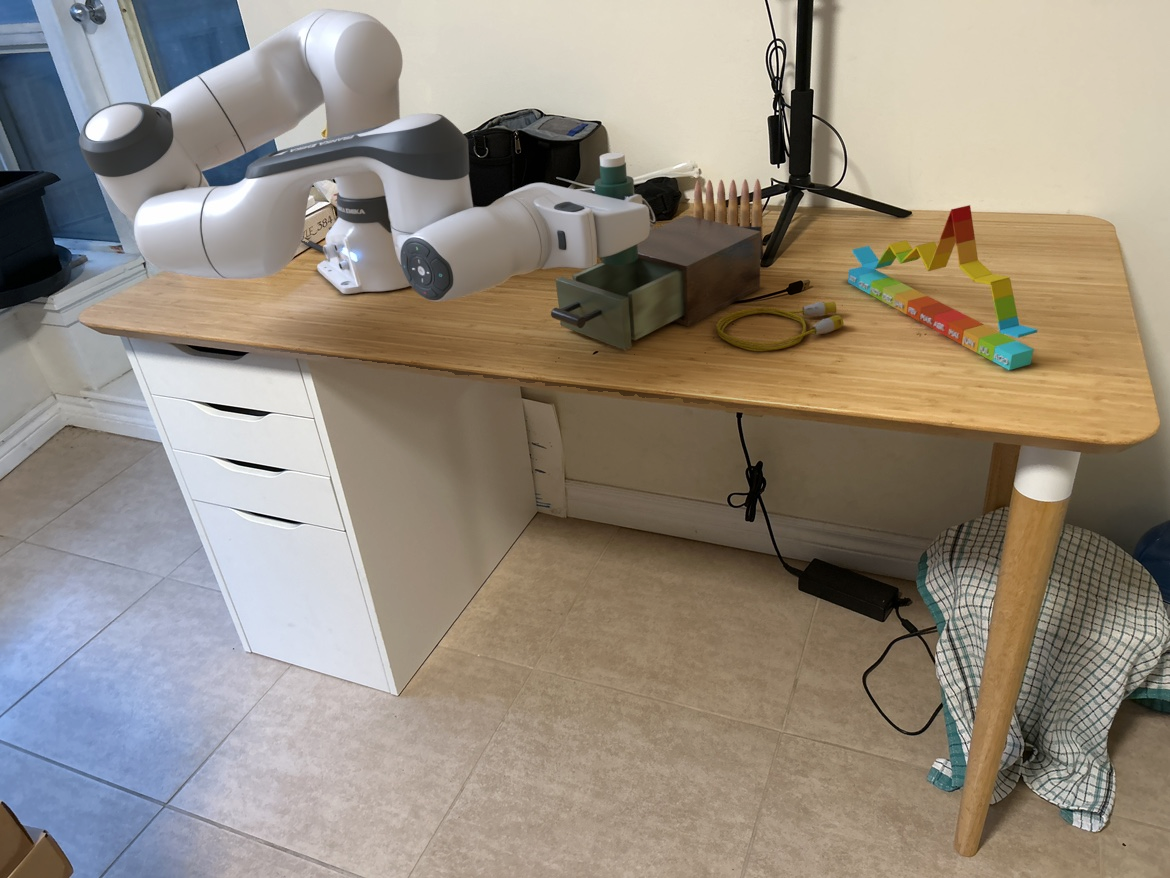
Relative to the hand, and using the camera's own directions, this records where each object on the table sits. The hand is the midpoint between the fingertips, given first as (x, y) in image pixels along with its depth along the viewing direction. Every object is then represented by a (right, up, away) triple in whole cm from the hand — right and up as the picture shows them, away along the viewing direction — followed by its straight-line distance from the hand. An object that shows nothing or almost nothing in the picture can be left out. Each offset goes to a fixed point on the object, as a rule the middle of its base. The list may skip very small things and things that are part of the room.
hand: (620, 196), depth 105 cm
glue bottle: (0, -7, +4) cm, 8 cm away
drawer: (0, -15, +8) cm, 17 cm away
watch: (+3, -3, +28) cm, 28 cm away
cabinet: (+10, -10, +16) cm, 21 cm away
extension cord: (+20, -16, +4) cm, 26 cm away
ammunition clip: (+18, -2, +27) cm, 32 cm away
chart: (+39, -15, +3) cm, 42 cm away
